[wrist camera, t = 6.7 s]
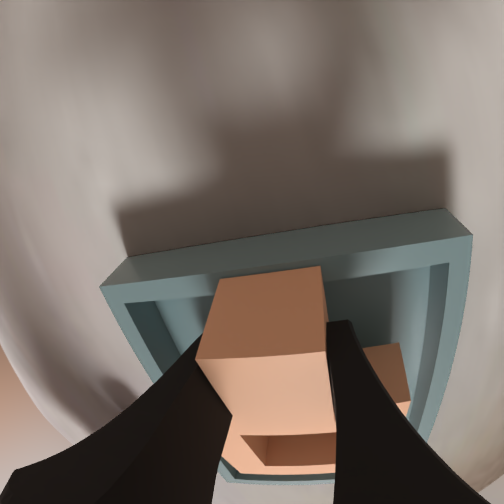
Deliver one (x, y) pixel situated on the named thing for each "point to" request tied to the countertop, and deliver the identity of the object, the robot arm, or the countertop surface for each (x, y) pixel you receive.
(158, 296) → the tray
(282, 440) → the collar
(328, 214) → the countertop surface
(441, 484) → the robot arm
